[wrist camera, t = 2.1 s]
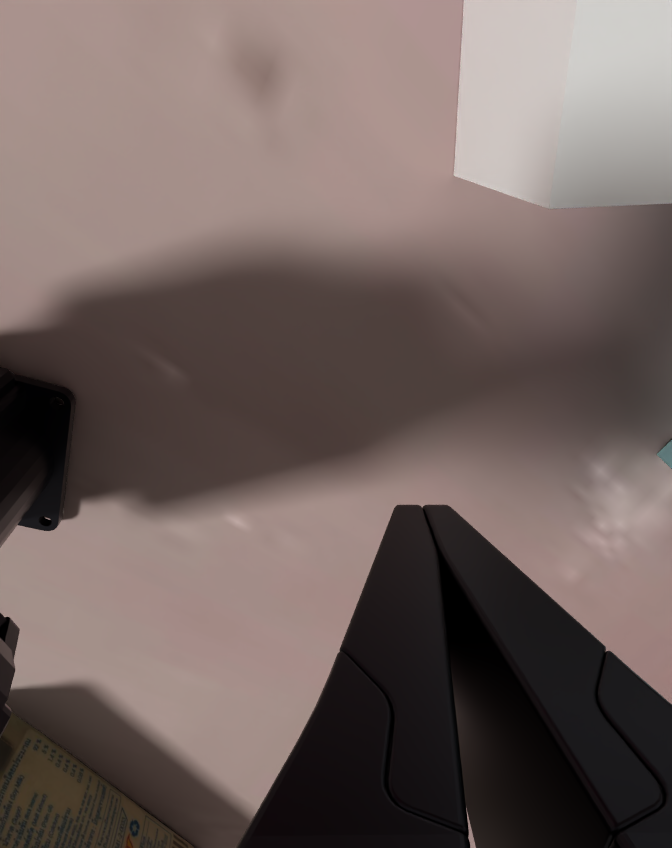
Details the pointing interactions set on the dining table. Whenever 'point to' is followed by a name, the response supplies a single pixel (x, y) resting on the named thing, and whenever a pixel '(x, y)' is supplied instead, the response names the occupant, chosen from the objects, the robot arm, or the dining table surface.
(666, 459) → the hatch
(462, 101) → the case
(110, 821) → the beverage carton
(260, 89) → the dining table surface
